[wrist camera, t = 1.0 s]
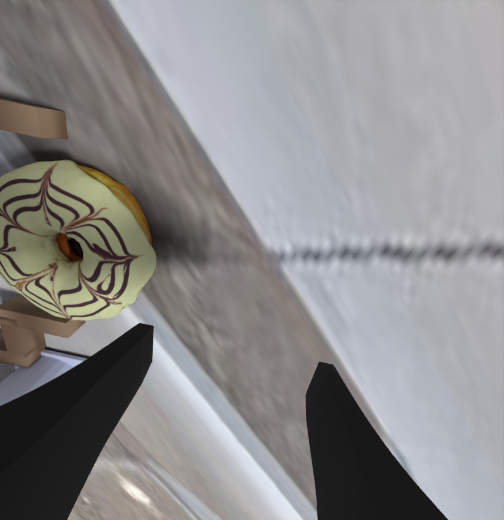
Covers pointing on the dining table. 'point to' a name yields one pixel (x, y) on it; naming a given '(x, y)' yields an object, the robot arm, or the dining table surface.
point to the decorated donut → (82, 230)
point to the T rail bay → (19, 308)
